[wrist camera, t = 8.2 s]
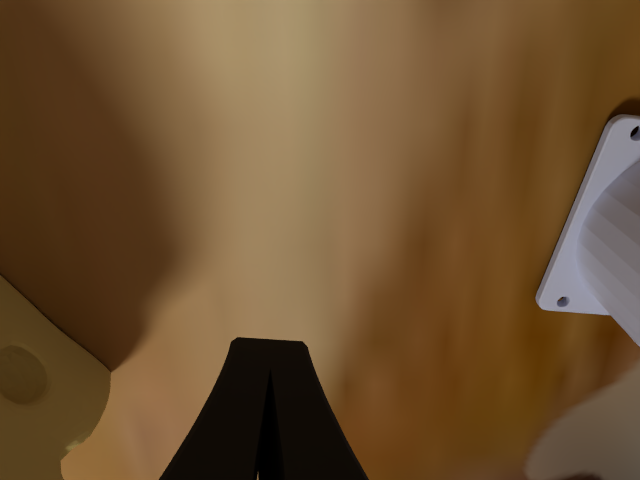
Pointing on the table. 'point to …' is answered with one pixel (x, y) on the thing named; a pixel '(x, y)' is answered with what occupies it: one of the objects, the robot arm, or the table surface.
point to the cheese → (43, 391)
